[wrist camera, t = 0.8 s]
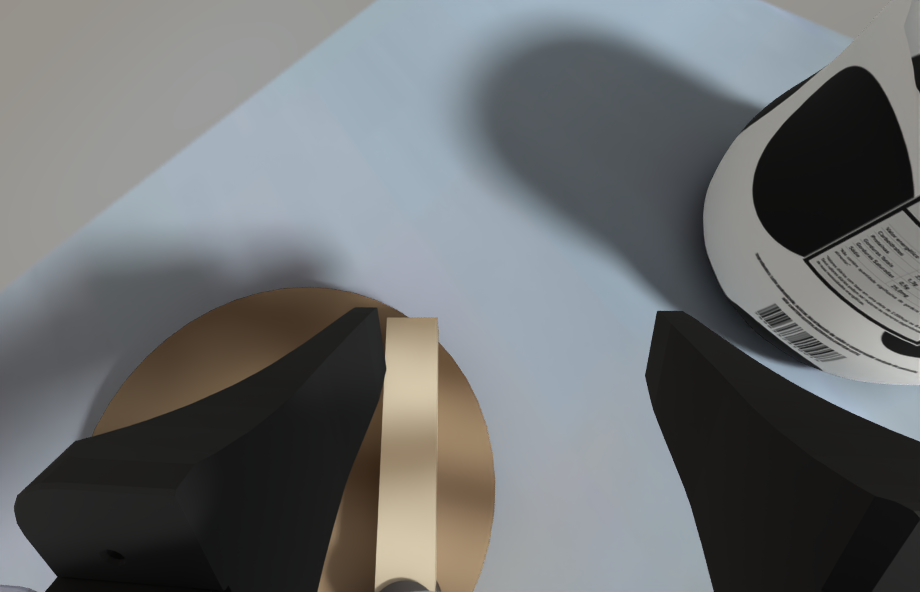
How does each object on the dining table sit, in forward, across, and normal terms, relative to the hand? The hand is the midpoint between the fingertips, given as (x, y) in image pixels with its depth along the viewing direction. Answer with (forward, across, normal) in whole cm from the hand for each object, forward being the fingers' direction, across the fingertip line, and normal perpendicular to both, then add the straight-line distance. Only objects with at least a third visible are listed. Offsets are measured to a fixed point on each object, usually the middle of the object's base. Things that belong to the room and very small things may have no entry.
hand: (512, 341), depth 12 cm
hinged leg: (+5, +5, +11) cm, 13 cm away
